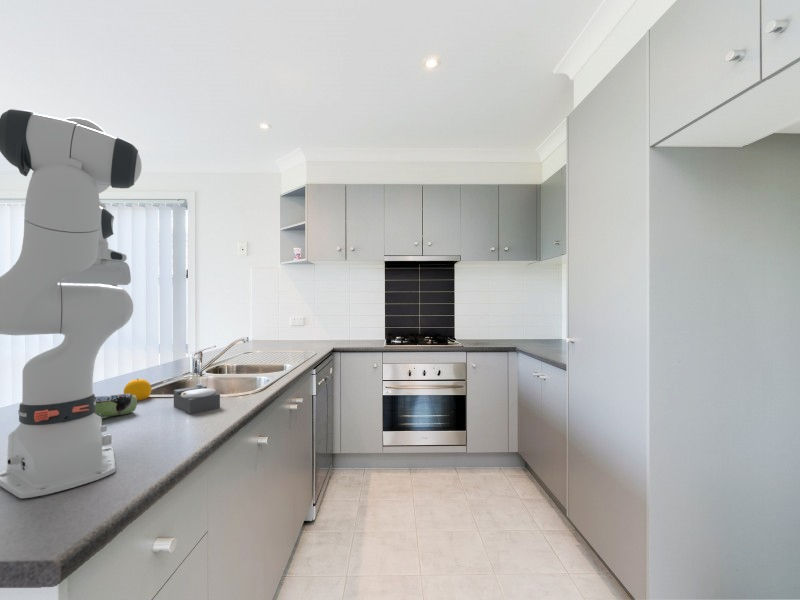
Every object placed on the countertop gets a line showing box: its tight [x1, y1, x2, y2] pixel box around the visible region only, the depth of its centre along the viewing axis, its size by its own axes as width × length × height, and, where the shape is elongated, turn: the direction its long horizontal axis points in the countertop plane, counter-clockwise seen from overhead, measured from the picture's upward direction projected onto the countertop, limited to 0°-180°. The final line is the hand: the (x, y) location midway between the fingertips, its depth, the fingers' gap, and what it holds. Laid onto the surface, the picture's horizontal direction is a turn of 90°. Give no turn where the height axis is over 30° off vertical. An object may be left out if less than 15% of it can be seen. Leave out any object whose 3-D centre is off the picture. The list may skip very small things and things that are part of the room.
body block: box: [173, 383, 221, 415], centre depth 120 cm, size 13×10×6 cm
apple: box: [123, 378, 152, 402], centre depth 130 cm, size 8×8×8 cm
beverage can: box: [94, 393, 138, 418], centre depth 111 cm, size 6×7×12 cm
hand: (89, 299), depth 113 cm, fingers open, 8 cm apart
